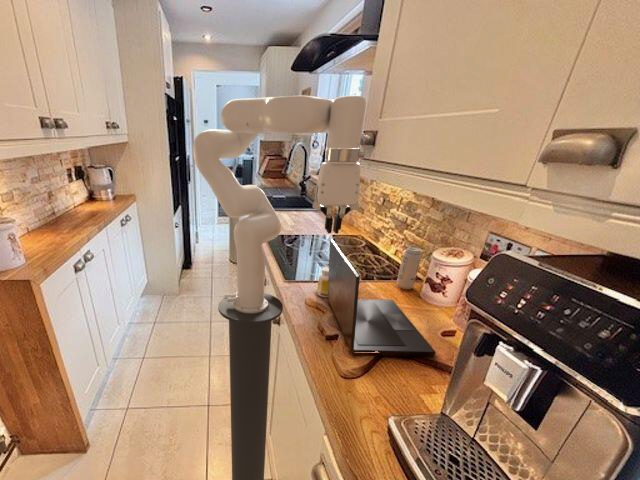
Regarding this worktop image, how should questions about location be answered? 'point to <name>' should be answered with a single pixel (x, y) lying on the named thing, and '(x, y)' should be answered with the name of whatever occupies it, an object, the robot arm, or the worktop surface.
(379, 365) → the worktop surface
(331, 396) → the worktop surface
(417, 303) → the worktop surface
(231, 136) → the robot arm
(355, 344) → the laptop
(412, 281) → the energy drink can
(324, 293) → the supplement bottle
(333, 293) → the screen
